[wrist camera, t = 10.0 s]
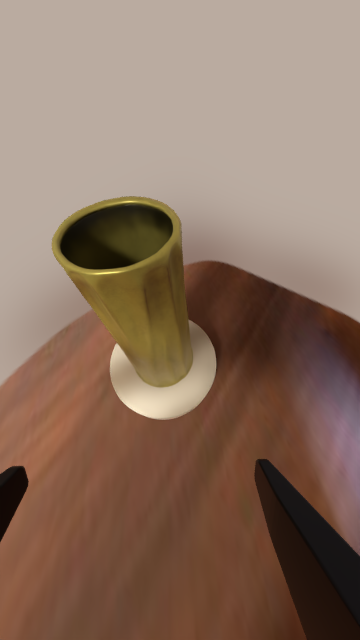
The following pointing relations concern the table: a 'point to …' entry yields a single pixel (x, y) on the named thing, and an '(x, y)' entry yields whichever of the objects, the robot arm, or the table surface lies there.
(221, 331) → the table surface
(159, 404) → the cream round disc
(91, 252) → the vase
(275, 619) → the table surface
